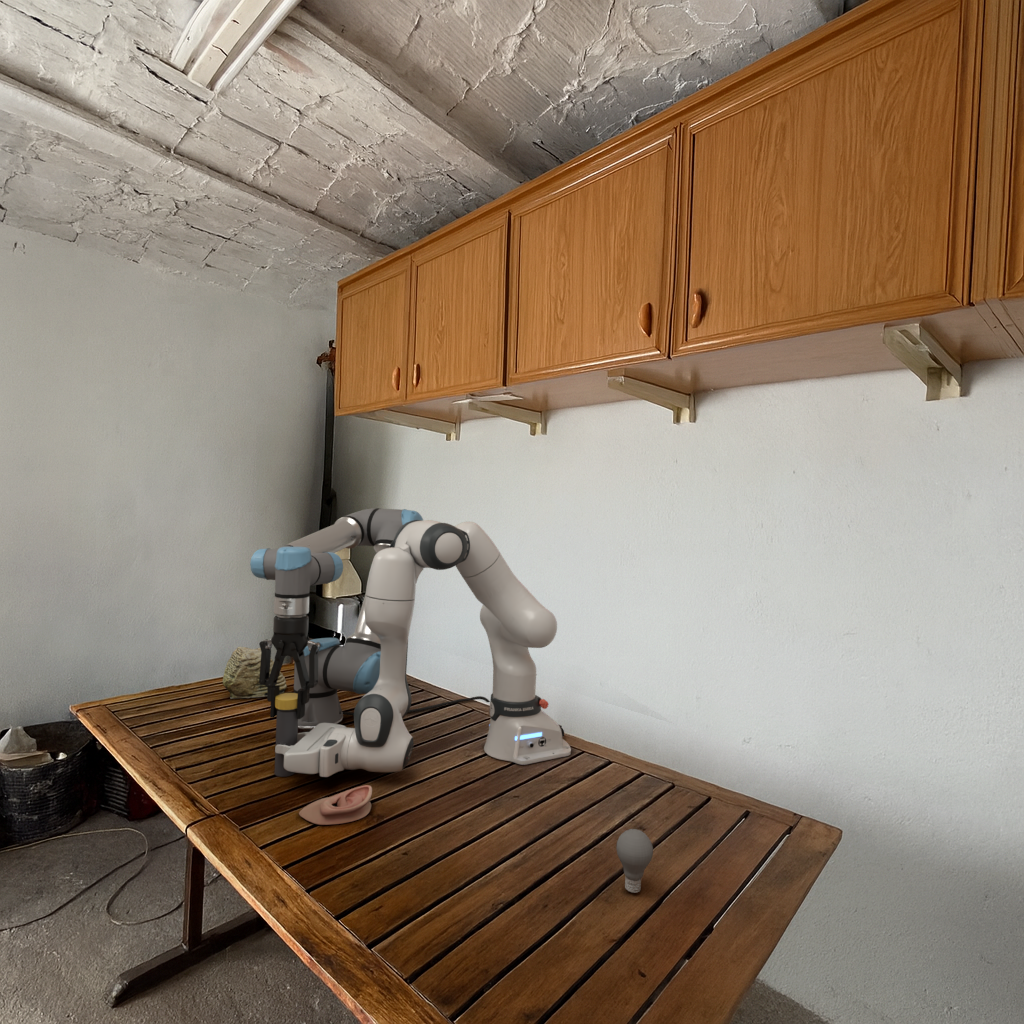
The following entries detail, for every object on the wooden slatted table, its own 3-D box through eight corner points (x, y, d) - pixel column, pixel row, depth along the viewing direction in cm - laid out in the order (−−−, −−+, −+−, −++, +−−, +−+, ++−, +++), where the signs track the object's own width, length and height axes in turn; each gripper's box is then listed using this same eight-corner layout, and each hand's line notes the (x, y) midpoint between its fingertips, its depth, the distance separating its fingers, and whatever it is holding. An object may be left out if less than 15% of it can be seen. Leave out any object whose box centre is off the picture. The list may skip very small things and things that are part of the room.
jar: (295, 767, 148) (298, 696, 147) (296, 775, 143) (299, 702, 143) (274, 769, 146) (277, 698, 146) (274, 777, 142) (277, 704, 141)
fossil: (218, 695, 195) (220, 647, 195) (278, 685, 208) (279, 640, 207) (228, 703, 189) (230, 653, 188) (289, 692, 201) (290, 645, 201)
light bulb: (610, 879, 108) (613, 822, 108) (644, 879, 109) (647, 822, 109) (619, 902, 102) (622, 840, 102) (655, 901, 103) (658, 840, 103)
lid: (272, 710, 141) (273, 700, 141) (276, 702, 147) (277, 692, 146) (299, 709, 142) (299, 700, 142) (302, 701, 148) (302, 692, 148)
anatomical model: (291, 800, 123) (320, 775, 134) (290, 820, 123) (320, 794, 134) (354, 810, 120) (379, 784, 132) (353, 830, 121) (378, 803, 132)
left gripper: (243, 615, 141) (240, 719, 141) (325, 620, 140) (321, 724, 140) (259, 609, 148) (256, 708, 149) (336, 614, 147) (332, 713, 148)
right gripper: (357, 718, 154) (302, 714, 155) (324, 751, 133) (261, 746, 134) (356, 744, 154) (301, 739, 155) (323, 781, 133) (260, 775, 135)
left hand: (287, 716), depth 144 cm, fingers closed on lid, 5 cm apart
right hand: (282, 742), depth 145 cm, fingers closed on jar, 5 cm apart
